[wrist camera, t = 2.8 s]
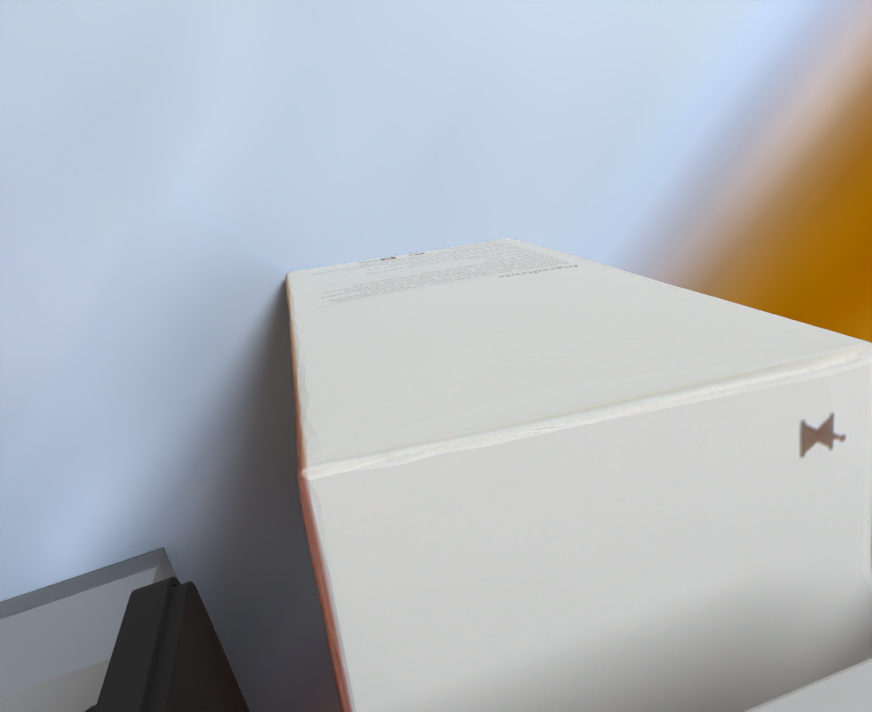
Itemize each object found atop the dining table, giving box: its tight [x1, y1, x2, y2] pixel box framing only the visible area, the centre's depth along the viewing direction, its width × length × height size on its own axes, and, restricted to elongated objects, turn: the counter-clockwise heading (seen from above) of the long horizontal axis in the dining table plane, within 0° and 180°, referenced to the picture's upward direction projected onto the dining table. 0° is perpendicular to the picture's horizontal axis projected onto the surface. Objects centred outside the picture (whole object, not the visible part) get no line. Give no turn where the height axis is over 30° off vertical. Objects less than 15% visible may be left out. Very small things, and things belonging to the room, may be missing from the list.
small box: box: [286, 238, 872, 712], centre depth 14 cm, size 8×6×13 cm
